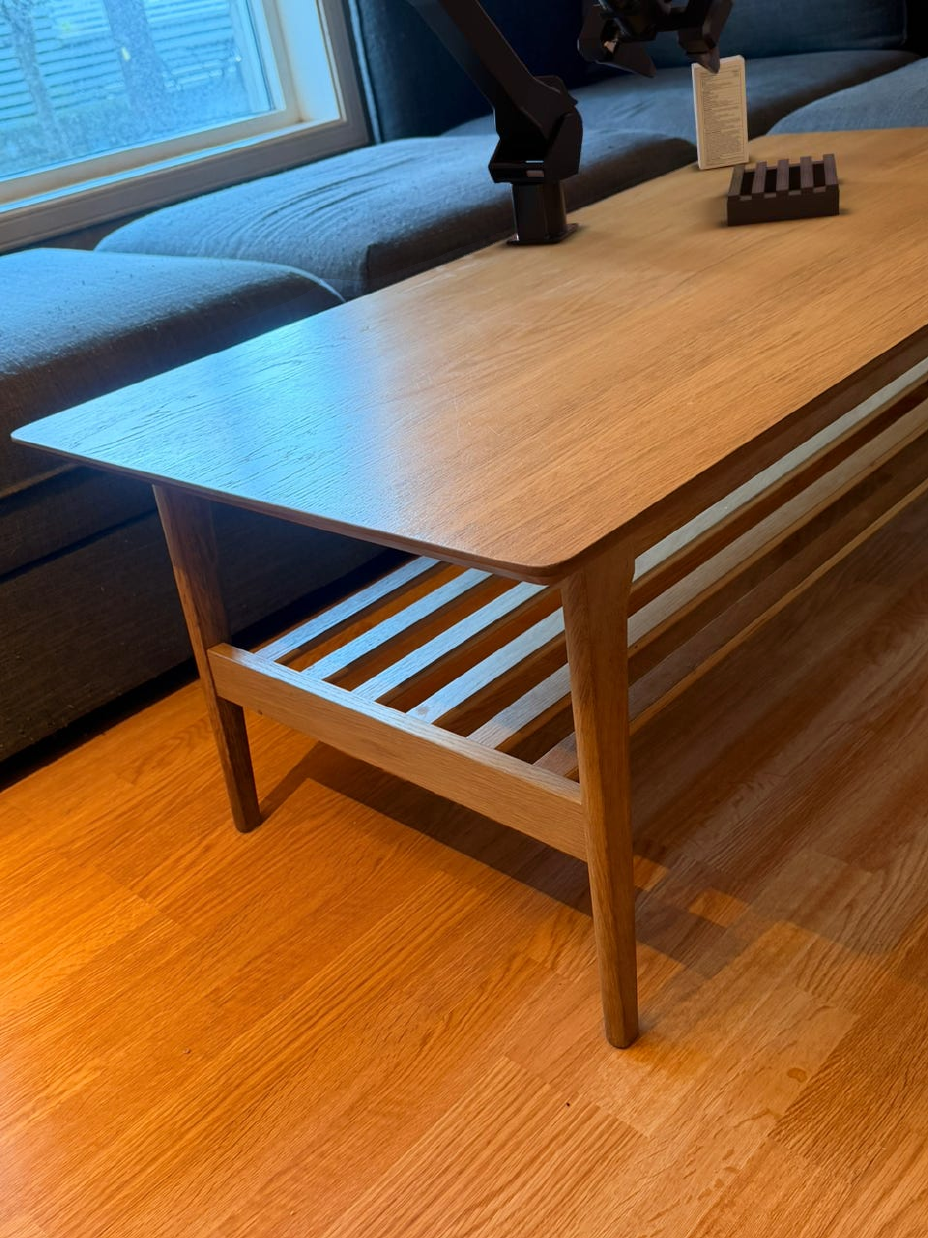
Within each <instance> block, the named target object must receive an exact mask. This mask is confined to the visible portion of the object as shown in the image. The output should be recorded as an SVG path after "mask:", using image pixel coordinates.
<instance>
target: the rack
mask: <svg viewBox="0 0 928 1238" xmlns="http://www.w3.org/2000/svg"><path fill="white" fill-rule="evenodd" d="M799 161H800V162H796V163H790V158H785V159H783V158H782V159H778V160H777V165H770V166H768V161H757V162H756V163H755V167H753V168H746V163H740V164H736V165H733V169H732V174H731V179H730V183H729V188H728V192H727V195H726V197H727V198H726V225H727V227H732V226H742V225H751V224H761V223H770V222H779V221H790V220H791V221H792V220H801V219H808V218H810V219H811V218H818V217H828V216H837V215H838V216H839V215H840V197H841V196H840V194H841V193H840V189H841V188H840V186H839V185H840V184H839V178H838V177H839V176H838V171H837V165H836V157H835V153H832V152H831V153H825V154H822V160H813V157H812V155H808V156H800V158H799ZM823 186H825V187H823ZM814 187H820V188H814ZM795 189H796V191H795ZM797 189H800V190H797ZM789 190H794V191H789ZM768 192H769V193H768ZM770 192H775V193H770ZM767 193H768V194H767ZM742 195H750V196H742Z"/></svg>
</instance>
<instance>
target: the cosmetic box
mask: <svg viewBox="0 0 928 1238" xmlns="http://www.w3.org/2000/svg"><path fill="white" fill-rule="evenodd" d="M745 66H746V63H745V58H744V57H743V56H742V55H741V54H738V55H734V56H733V55H732V56H729V57H722V58H720V69H719V72H718V74H713V73H712V72H710V71H708V70H706V69H705V68H703V67H702V66H700V65H699V64H698V63H696V62H694V63H692V64H691V73H692V75H691V76H692V88H693V89H692V90H693V103H694V104H693V105H694V119H695V120H694V121H695V134H696V135H695V136H696V149H697V150H696V151H697V164H698V167H699V170H701V171H704V170H709V169H717V168H721V167H728V166H734V165H740V164H746V163H749V162H750V159H749V135H748V113H747V112H748V111H747V89H746V67H745Z"/></svg>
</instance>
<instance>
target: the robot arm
mask: <svg viewBox="0 0 928 1238" xmlns="http://www.w3.org/2000/svg"><path fill="white" fill-rule="evenodd" d="M405 1H406V2H408V3H410V4H411V5H412V6H413V7H414V8H415V9H416V11H417V12H418V13H419V14H420V16H421V17H422V19H423V20H424V21H425V22H426V23H427V25H428V26H429V27H430V28H431V30H432V31H433V32H434V34H435V35H436V36H437V37H438V39H439V40H440V42H442V44H443V45H444V46H445V48H446V49H447V50H448V51H449V53H450V54H451V55H452V56H453V58H454V59H455V60H456V62H457V63H458V64H459V65H460V66H461V68H462V69H463V70H464V72H465V73H466V74H467V76H468V77H469V79H471V81H472V82H473V83H474V85H476V87H477V88H478V90H479V91H480V92H481V93H482V95H483V96H484V98H485V99H486V100H487V101H488V102H489V104H490V105H491V107H492V109H493V120H494V121H493V122H494V130H495V132H496V134H497V136H498V141H497V143H496V146H495V148H494V149H493V153H492V155H491V156H490V157H491V158H490V159H489V162H488V164H487V169H488V172H489V175H490V177H491V179H492V182H493V184H502V183H503V184H504V183H505V184H509V187H510V195H511V202H512V203H511V204H512V210H513V219H514V225H515V233H514V234H512V235H511V236H509V237H508V238H507V239H505V245H506V246H513V245H530V244H532V245H533V244H549V243H559V242H561V241H563V240H564V239H566V238H567V237H568V236H570V235H571V234H572V233H573V232H575V231H576V230H577V229H579V226H580V225H579V223H578V222H572V223H569V222H568V219H567V218H568V217H567V208H566V201H565V191H564V180H567V179H569V178H572V177H574V176H577V175H579V171H580V164H581V154H582V145H583V137H584V125H583V122H584V121H583V118H582V115H581V113H580V111H579V109H578V108H577V107H576V106H577V105H578V104H579V100H578V99H576V98H574V97H573V96H572V95H571V94H570V92H569V91H568V89H567V87H566V84H565V83H564V81H563V80H562V78H560V77H559V75H546V76H533V75H532V74H531V73H530V72H529V70H528V69H527V67H526V66H525V64H523V62H522V61H521V60H520V58H519V57H518V55H517V53H515V51H514V50H513V48H512V47H511V45H510V44H509V43H508V41H507V40H506V39H505V37H504V36H503V34H502V33H501V31H500V30H499V29H498V28H497V26H496V25H495V23H494V22H493V21H492V20H491V18H490V17H489V15H488V14H487V13H486V11H485V9H484V8H483V7H482V6H481V5H480V3H479V2H478V0H405ZM598 2H599V3H600V4H599V3H598V4H594V5H591V7H590V9H589V11H588V14H587V16H586V19H585V21H584V23H583V26H582V29H581V31H580V33H579V36H578V39H577V49H578V52H579V53H580V55H581V56H582V57H583V58H584V60H585V61H586V62H596V63H597V64H599V65H602V64H603V65H606V66H610V67H614V68H616V69H620V70H624V71H626V72H630V73H633V74H636V75H640V76H643V77H645V78H648V79H654V78H655V76H656V74H657V67H655V64H654V62H653V60H652V58H651V57H650V56H649V54H648V53H647V51H646V49H645V48H644V47H643V45H642V44H641V43H644V42H654V41H656V39H657V36H658V34H659V33H665V32H667V33H668V32H675V31H676V37H677V44H678V45H679V46H680V48H681V49H682V50H684V51H685V54H684V55H685V56H686V57H687V58H689V59H690V60H691V61H693V62H694V63H698V64H699V65H700V66H702V67H703V68H705V69H706V70H708V71H710V72H712V73H713V74H718V72H719V69H720V59H721V58H720V51H719V42H720V39H721V36H722V33H723V31H724V29H725V26H726V24H727V22H728V19H729V17H730V15H731V11H732V10H733V7H734V5H735V4H734V2H733V0H688V2H687V4H686V5H683V6H682V5H681V6H675V7H674V6H673V7H671V6H670V5H671V2H675V0H598Z"/></svg>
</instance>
